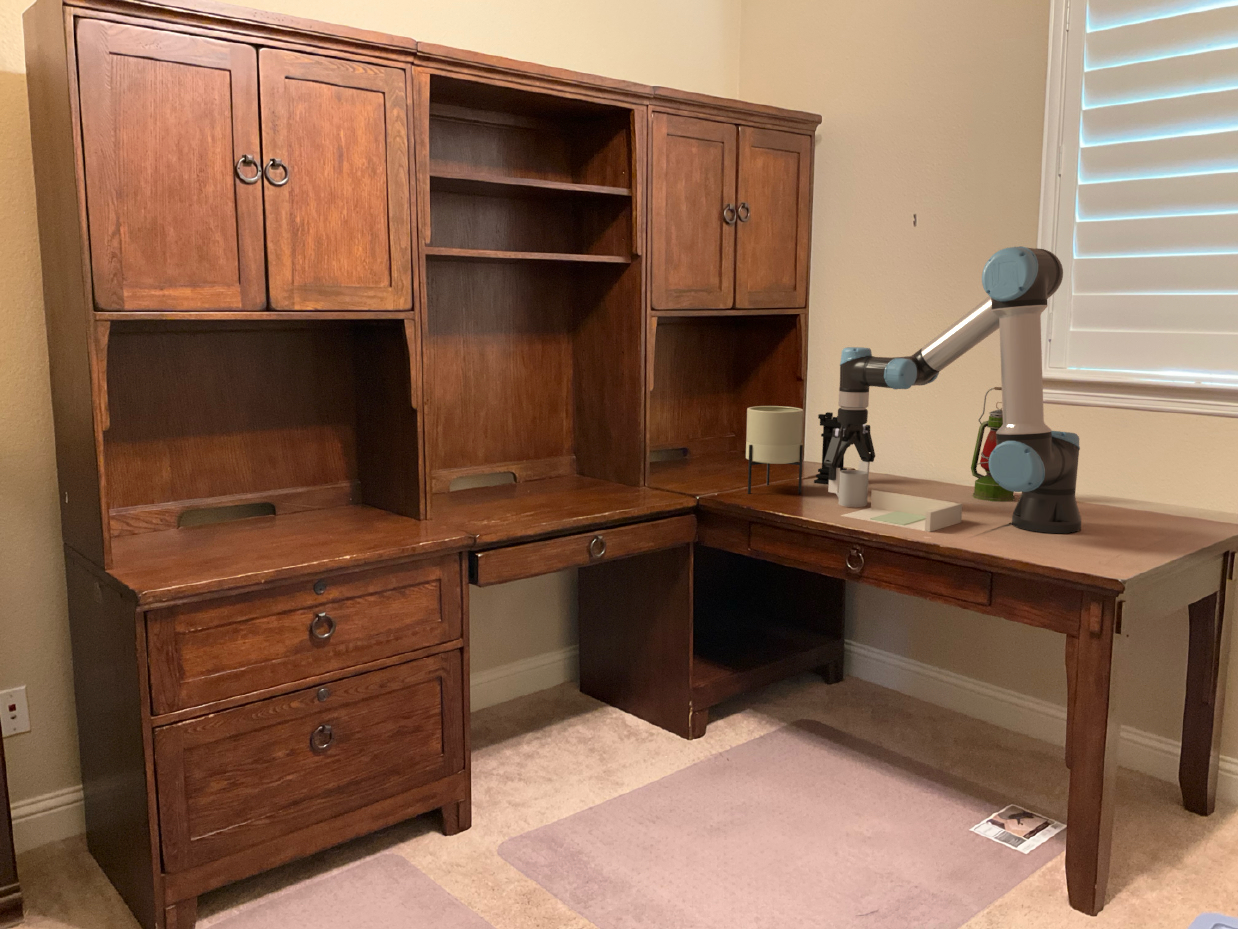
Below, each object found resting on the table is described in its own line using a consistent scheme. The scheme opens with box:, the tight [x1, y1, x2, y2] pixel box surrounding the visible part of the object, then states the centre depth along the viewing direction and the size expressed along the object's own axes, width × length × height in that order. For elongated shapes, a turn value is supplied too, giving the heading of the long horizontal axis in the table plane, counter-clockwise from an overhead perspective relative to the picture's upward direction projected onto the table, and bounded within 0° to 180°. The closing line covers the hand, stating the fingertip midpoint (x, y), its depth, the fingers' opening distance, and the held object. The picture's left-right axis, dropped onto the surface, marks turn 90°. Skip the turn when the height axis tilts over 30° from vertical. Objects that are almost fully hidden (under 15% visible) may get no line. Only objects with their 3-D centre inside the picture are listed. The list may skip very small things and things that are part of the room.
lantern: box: [970, 386, 1015, 503], centre depth 275 cm, size 14×11×30 cm
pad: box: [870, 511, 926, 525], centre depth 247 cm, size 9×12×1 cm
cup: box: [835, 469, 869, 508], centre depth 265 cm, size 7×10×9 cm
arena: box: [840, 489, 963, 533], centre depth 247 cm, size 24×15×5 cm, turn 44°
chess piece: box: [813, 412, 848, 486], centre depth 297 cm, size 8×8×20 cm
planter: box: [745, 405, 804, 495], centre depth 282 cm, size 15×16×23 cm
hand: (848, 489), depth 265 cm, fingers open, 13 cm apart
